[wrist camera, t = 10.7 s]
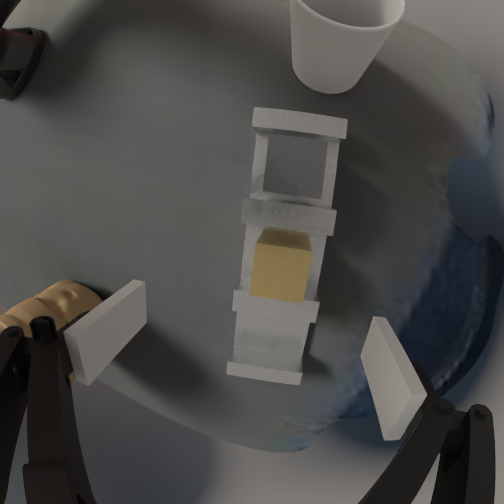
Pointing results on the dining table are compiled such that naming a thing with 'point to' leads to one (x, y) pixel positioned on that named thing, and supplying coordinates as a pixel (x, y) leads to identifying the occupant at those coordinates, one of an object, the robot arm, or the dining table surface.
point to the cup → (339, 39)
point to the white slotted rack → (285, 220)
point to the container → (52, 307)
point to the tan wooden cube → (281, 266)
